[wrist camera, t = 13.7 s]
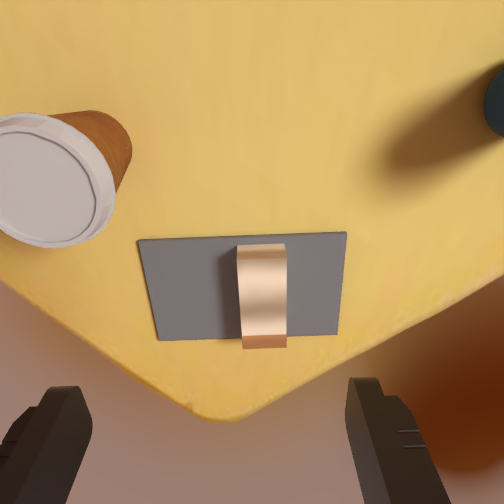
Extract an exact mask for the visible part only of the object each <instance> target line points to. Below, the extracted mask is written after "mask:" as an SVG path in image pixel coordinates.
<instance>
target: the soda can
mask: <svg viewBox="0 0 504 504" xmlns="http://www.w3.org/2000/svg"><path fill="white" fill-rule="evenodd" d="M484 114H485V118H486V121H487V123H488V125H489V126H490V128H491V129H492V130H493V131H494V132H495V133H497V134H499V135H501V136H503V137H504V68H503V69H502V70H501V71H500V72H499V73H498V74H497V75H496V77H495V78H494V79H493V81H492V82H491V84H490V86H489V88H488V90H487V93H486V96H485V101H484Z"/></svg>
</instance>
